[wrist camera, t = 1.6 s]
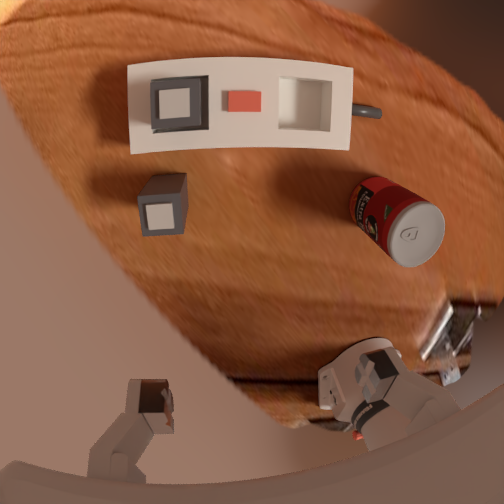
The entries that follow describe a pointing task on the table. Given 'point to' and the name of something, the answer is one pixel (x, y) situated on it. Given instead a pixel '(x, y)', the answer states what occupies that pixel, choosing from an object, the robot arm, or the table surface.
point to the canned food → (397, 220)
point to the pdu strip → (283, 104)
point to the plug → (164, 205)
